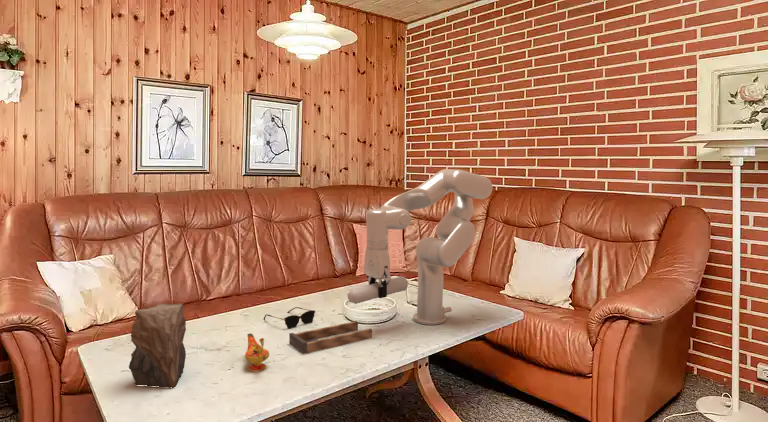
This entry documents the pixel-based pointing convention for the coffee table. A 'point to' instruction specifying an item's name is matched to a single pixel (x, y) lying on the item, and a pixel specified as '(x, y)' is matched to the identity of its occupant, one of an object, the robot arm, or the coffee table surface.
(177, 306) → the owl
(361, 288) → the tube
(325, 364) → the coffee table surface
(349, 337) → the trap channel
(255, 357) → the magic lamp
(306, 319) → the sunglasses
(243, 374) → the coffee table surface
